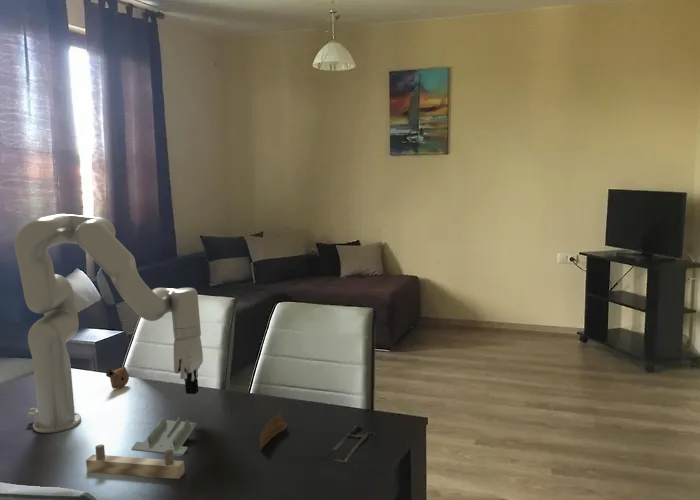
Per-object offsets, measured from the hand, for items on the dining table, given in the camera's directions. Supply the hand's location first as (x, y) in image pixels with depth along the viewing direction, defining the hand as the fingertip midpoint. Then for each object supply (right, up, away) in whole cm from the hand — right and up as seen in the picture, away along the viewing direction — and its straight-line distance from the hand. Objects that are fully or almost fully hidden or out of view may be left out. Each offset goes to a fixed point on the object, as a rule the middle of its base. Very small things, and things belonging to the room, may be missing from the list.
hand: (192, 392), depth 185 cm
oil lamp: (-31, -5, +27) cm, 42 cm away
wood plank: (+25, -10, -13) cm, 30 cm away
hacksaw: (+47, -11, -19) cm, 52 cm away
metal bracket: (-3, -11, -14) cm, 18 cm away
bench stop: (-6, -13, -30) cm, 33 cm away
